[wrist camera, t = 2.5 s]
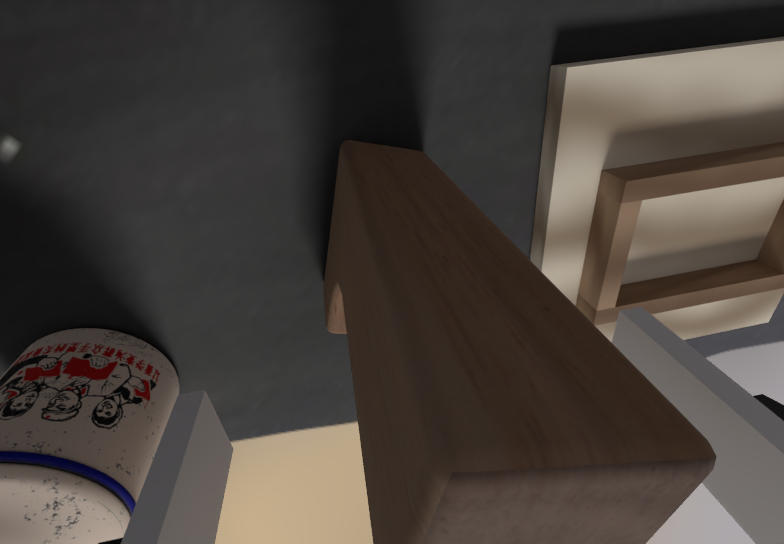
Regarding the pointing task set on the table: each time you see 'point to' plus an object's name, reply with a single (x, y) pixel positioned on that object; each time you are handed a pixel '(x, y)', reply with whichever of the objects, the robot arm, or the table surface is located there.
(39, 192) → the table surface
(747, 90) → the keyed plate
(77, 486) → the teacup with lid
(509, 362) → the wooden block
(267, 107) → the table surface
